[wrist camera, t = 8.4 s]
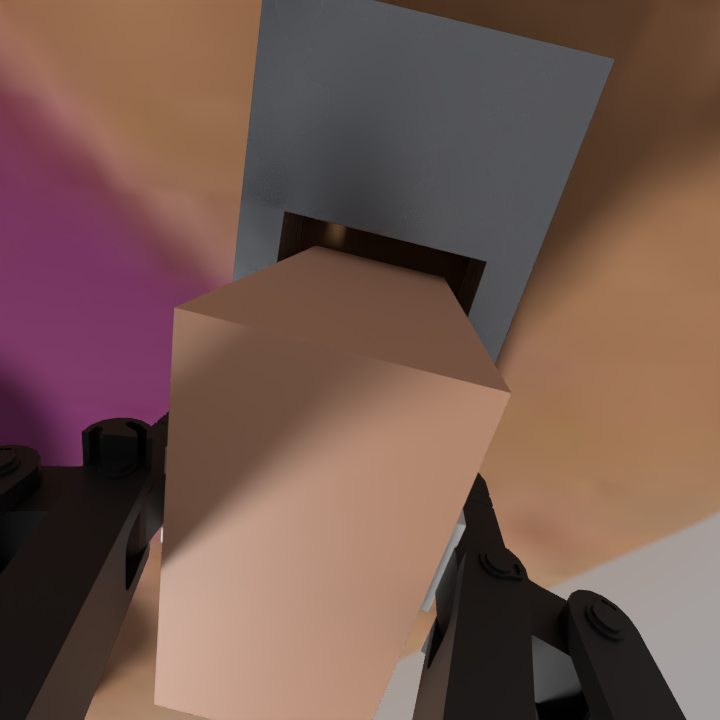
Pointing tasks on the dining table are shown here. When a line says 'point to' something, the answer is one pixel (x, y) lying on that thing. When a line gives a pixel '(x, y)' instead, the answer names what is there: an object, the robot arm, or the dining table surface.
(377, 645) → the tan bridge block
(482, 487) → the robot arm
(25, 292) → the dining table surface
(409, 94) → the rail
